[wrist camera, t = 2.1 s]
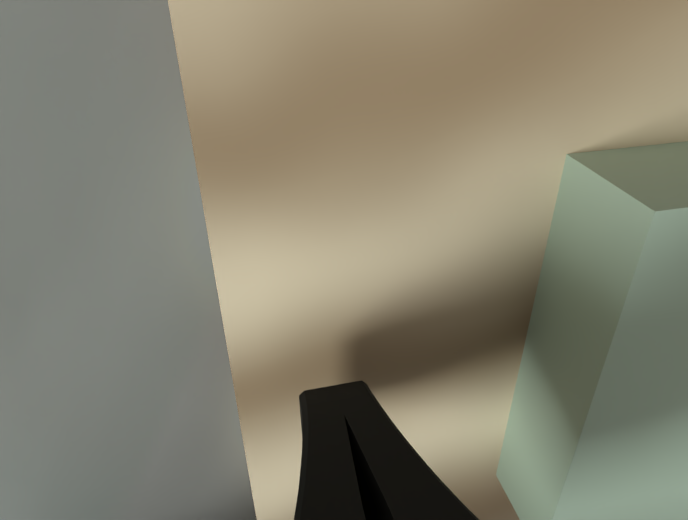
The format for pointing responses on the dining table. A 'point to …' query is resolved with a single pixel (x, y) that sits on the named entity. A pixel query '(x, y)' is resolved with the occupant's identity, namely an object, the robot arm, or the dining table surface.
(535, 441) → the mint green book-shaped slab
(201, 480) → the dining table surface
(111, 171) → the dining table surface
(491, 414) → the bench board
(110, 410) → the dining table surface
